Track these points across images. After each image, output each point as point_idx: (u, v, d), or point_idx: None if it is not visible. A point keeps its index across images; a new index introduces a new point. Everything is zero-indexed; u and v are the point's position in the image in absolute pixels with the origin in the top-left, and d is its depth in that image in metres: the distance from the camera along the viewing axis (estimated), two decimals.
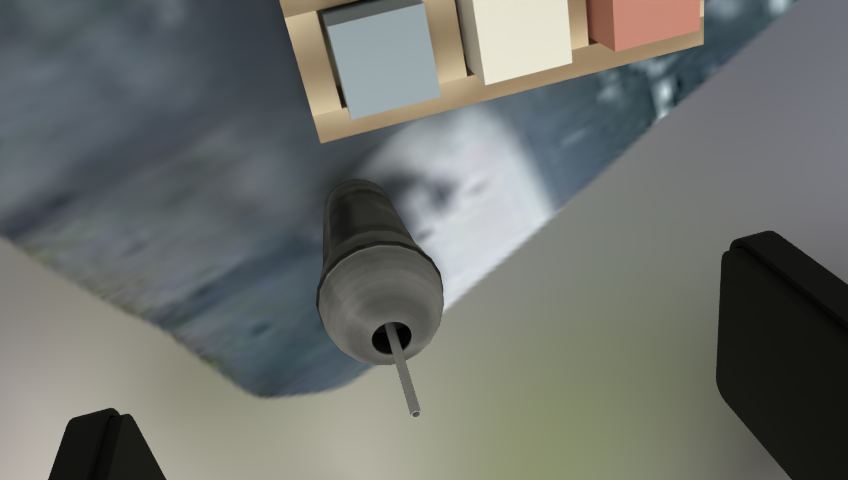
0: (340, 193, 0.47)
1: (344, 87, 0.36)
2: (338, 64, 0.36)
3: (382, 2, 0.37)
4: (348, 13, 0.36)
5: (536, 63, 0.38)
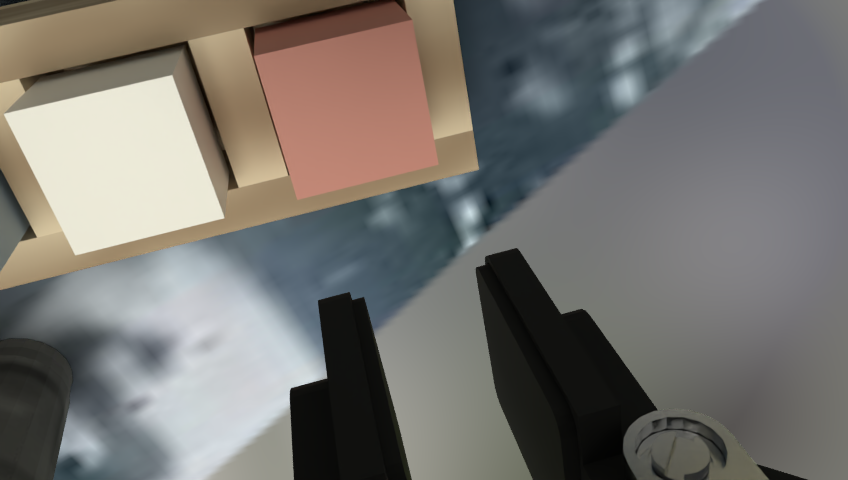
0: None
1: None
2: None
3: None
4: None
5: (159, 220, 0.23)
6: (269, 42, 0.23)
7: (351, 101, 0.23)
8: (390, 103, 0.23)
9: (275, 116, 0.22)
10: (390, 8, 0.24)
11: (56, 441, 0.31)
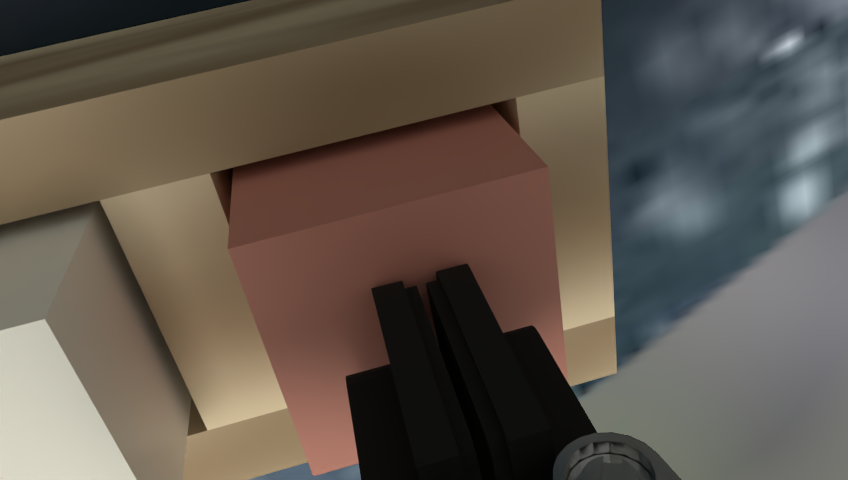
0: None
1: None
2: None
3: None
4: None
5: None
6: (260, 201, 0.12)
7: None
8: (493, 312, 0.12)
9: (272, 350, 0.11)
10: (485, 122, 0.13)
11: None
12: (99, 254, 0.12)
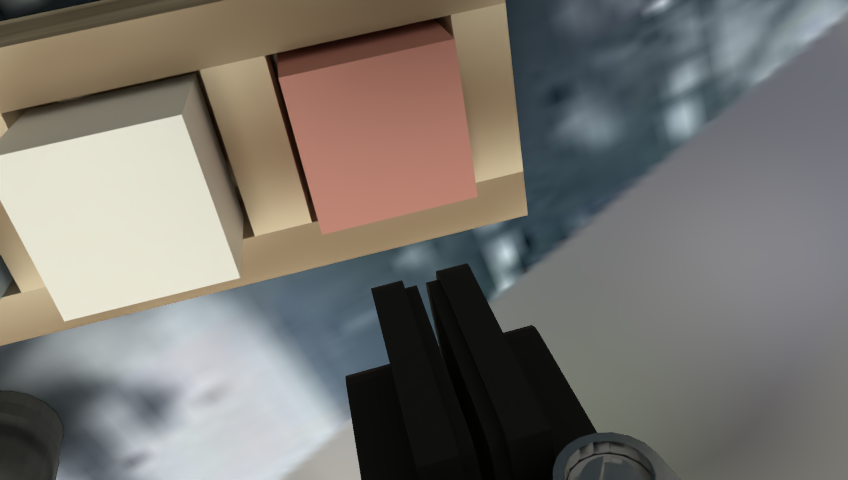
0: None
1: None
2: None
3: None
4: None
5: (163, 280, 0.20)
6: (294, 61, 0.20)
7: (384, 127, 0.20)
8: (427, 130, 0.21)
9: (300, 144, 0.20)
10: (427, 24, 0.21)
11: None
12: (197, 103, 0.20)
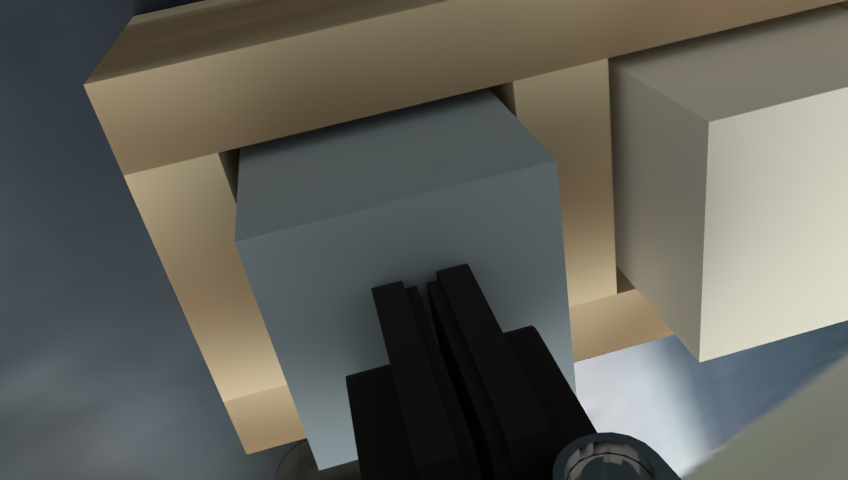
0: (305, 477, 0.22)
1: (296, 398, 0.12)
2: (276, 342, 0.11)
3: (414, 132, 0.13)
4: (312, 172, 0.12)
5: (843, 301, 0.14)
6: None
7: None
8: None
9: None
10: None
11: None
12: None
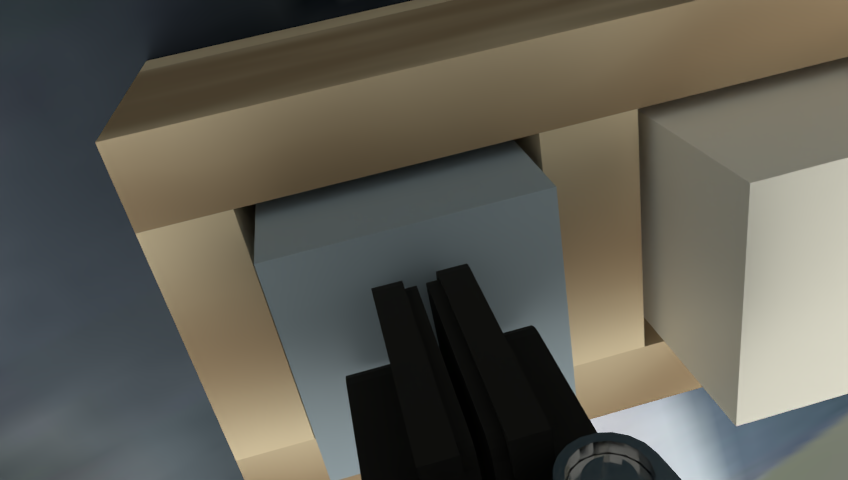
0: None
1: (310, 412, 0.13)
2: (291, 359, 0.12)
3: None
4: (325, 197, 0.13)
5: None
6: None
7: None
8: None
9: None
10: None
11: None
12: None
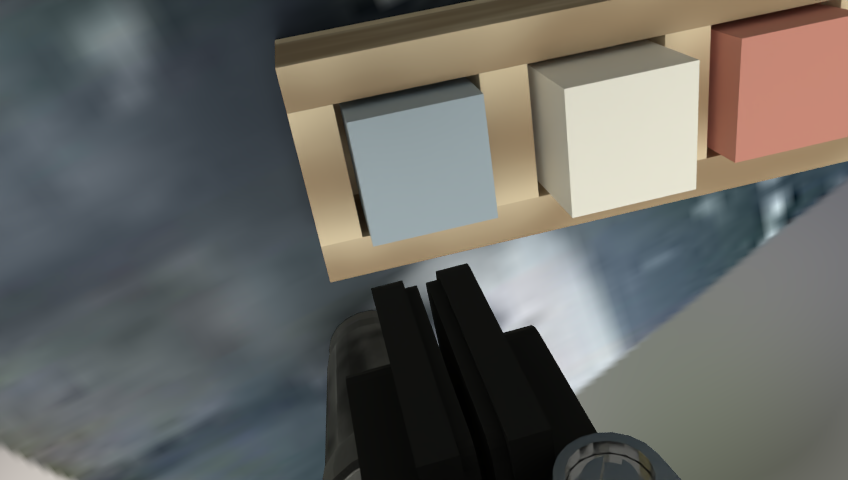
0: (352, 333, 0.35)
1: (366, 204, 0.26)
2: (359, 173, 0.25)
3: (422, 87, 0.27)
4: (375, 101, 0.26)
5: (646, 188, 0.26)
6: (733, 30, 0.27)
7: (799, 79, 0.27)
8: (827, 82, 0.28)
9: (742, 90, 0.27)
10: (814, 6, 0.29)
11: None
12: None
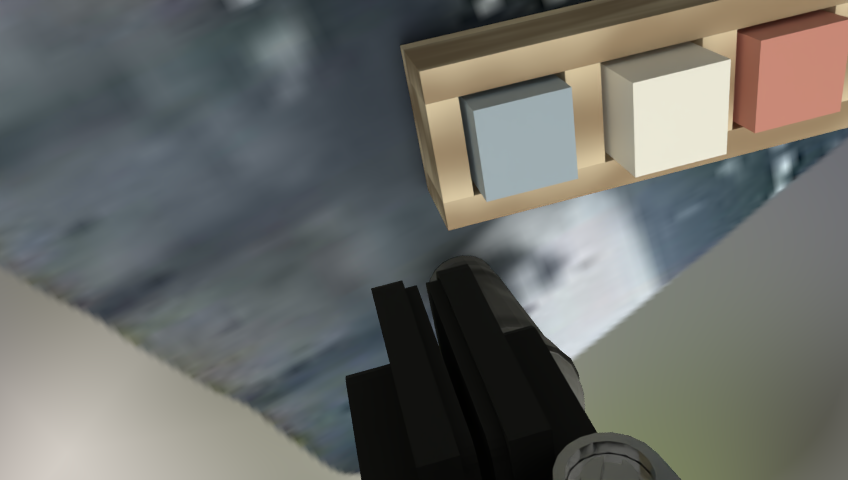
0: None
1: (483, 170, 0.35)
2: (480, 147, 0.35)
3: None
4: (488, 94, 0.35)
5: (689, 154, 0.36)
6: (754, 32, 0.36)
7: (804, 69, 0.36)
8: (825, 70, 0.37)
9: (760, 78, 0.36)
10: (815, 11, 0.37)
11: None
12: None
